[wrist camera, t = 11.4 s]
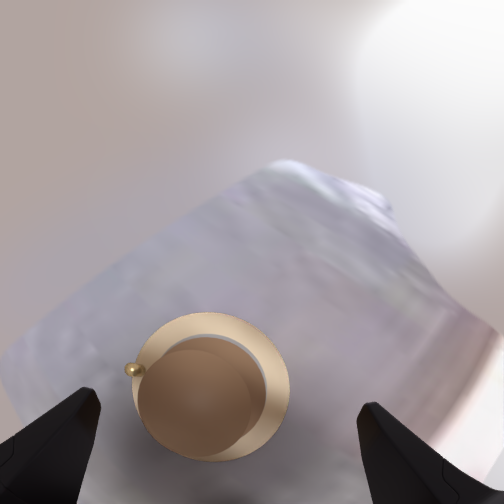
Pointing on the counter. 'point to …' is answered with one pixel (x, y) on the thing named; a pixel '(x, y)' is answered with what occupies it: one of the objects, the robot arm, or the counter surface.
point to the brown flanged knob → (201, 396)
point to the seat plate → (243, 338)
